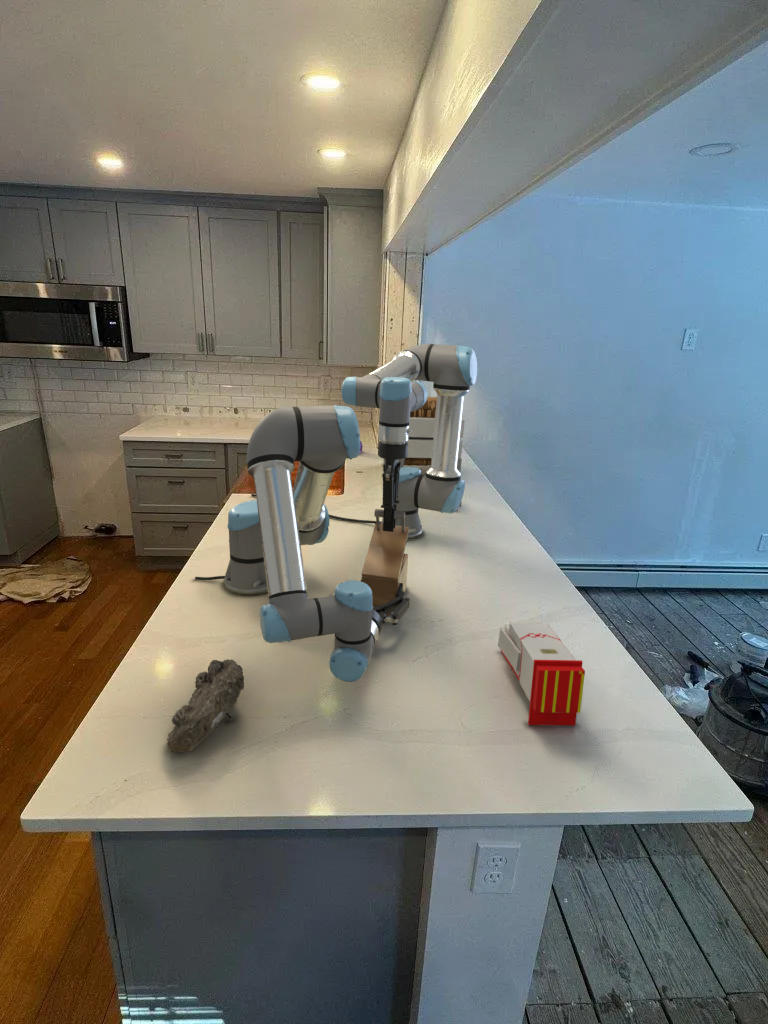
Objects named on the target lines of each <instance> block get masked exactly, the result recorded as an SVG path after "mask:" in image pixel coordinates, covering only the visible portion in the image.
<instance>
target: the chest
mask: <svg viewBox="0 0 768 1024" xmlns="http://www.w3.org/2000/svg"><path fill="white" fill-rule="evenodd" d="M408 562H409V553H404V556H403V560H402V565H401V570H400V574H399V579H398V581H397V580H389V579H381V578H373V577H365V576H362V575H361V579H362V582H363V583H365V584H367V585H368V586H369V587H370V588H371V590H372V605H373V606H375V607H377V606H379V605H381V604H386V603H387V602H389V601H391V600H393V599H394V598H396V593H397V590H398V588H399V585H400V583H403V592H405V593H406V590H407V580H408V565H409V564H408ZM389 615H391V613H390V614H388V615H387V616H389Z"/></svg>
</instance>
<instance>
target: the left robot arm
mask: <svg viewBox="0 0 768 1024" xmlns="http://www.w3.org/2000/svg"><path fill="white" fill-rule="evenodd" d="M360 441H361V433H360V427H359V422H358V418H357V415H356V413H355V411H354V410H353V408H352V407H350V406H349V405H337V404H334V405H308V406H307V405H305V406H289V405H288V406H287V405H286V406H281V407H277V408H275V409H272V410H271V411H269V412H268V413H267V414H265V416H263V417H262V418H261V419H260V420H259V422H258V423H257V425H256V426H255V428H254V429H253V432H252V433H251V436H250V438H249V442H248V445H247V449H246V450H247V451H246V466H247V467H246V468H247V474H248V475H249V476H250V477H252V478H253V481H254V490H255V494H256V497H255V499H251V500H247V501H243V502H240V503H238V504H235V505H234V506H233V507H231V508H230V510H229V512H228V514H227V530H228V545H229V562H228V564H227V568H226V572H225V574H224V575H217V576H216V575H215V576H195V577H194V580H195V581H214V580H224V588H225V589H226V590H227V591H228V592H230V593H233V594H236V595H240V596H241V595H242V596H256V595H257V596H258V595H263V594H266V593H267V596H268V603H266V604H263V605H261V606H260V609H259V622H260V631H261V634H262V638H263V640H264V641H265V642H266V643H268V644H276V643H284V642H287V643H291V641H296V640H297V641H298V640H303V639H310V638H315V637H321V636H329V635H334V644H333V645H334V646H333V647H334V648H333V651H332V652H331V654H330V659H329V663H328V666H329V670H330V673H331V674H332V675H333V676H334V678H336V679H337V680H339V681H341V682H344V683H354V682H357V681H359V680H360V679H362V678H363V676H364V674H365V673H366V670H367V669H368V668H369V662H370V661H371V657H372V654H373V652H374V648H375V646H376V644H377V641H378V639H379V636H380V633H381V630H382V628H383V626H384V625H385V624H386V623H391V625H392V626H395V627H396V626H398V623H399V622H398V621H399V620H401V618H402V617H403V616H404V615H405V614H406V612H407V611H408V610H409V609H410V604H411V603H410V602H411V598H410V597H406V591H405V592H403V583H400V585H399V588H398V590H397V593H396V598H394V599H393V600H391V601H389V602H387V603H386V604H381V605H379V606H377V607H375V606H373V605H372V590H371V588H370V587H369V586H368V585H367V584H365V583H363V582H362V578H361V580H345V581H343V582H340V583H338V584H337V585H336V586H335V589H334V591H333V592H334V594H333V595H325V596H318V597H310V598H309V595H308V587H307V581H306V573H305V567H304V560H303V552H302V546H313V545H316V544H321V543H323V542H324V541H325V540H327V537H328V536H329V535H328V534H329V531H330V529H329V527H330V517H329V515H330V514H329V511H328V508H327V506H326V505H325V501H326V498H327V495H328V492H329V489H330V487H331V484H332V480H333V477H334V475H335V473H336V472H338V471H339V470H341V469H342V468H343V467H344V465H345V463H346V460H347V459H349V460H352V459H356V458H358V457H359V455H360V454H359V452H360ZM295 462H298V467H297V471H296V475H295V479H294V483H293V481H292V473H293V472H294V470H295V469H296V468H295V467H296V466H295ZM390 613H391V615H389V616H387V615H388V614H390Z"/></svg>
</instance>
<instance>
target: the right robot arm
mask: <svg viewBox="0 0 768 1024" xmlns="http://www.w3.org/2000/svg"><path fill="white" fill-rule="evenodd" d="M476 355H477V354H476V352H475V350H474V349H473V348H472V347H470V346H464V345H455V344H454V345H452V344H438V343H437V344H436V343H435V344H434V343H421V344H416V345H413V346H411V347H408V348H405V349H403V350H401V351H399V352H397V353H396V354H395V355H394V356H393V357H392V360H390V361H388V362H387V363H385V364H382V365H381V366H379V367H378V368H375V369H374V370H373V371H371V372H369V373H368V374H366V375H364V376H362V377H358V376H347V377H346V378H345V379H344V380H343V382H342V385H341V393H340V394H341V399H342V401H343V403H344V404H345V405H346V406H354V407H360V408H371V409H379V413H378V414H379V418H378V419H379V420H378V430H377V431H378V434H377V439H378V440H379V441H378V443H377V456H378V457H379V458H381V459H383V460H384V459H385V460H386V462H385V465H384V464H383V465H382V471H383V472H382V475H381V477H382V504H381V505H380V509H383V510H384V516H383V517H382V519H381V521H380V520H379V524H383V531H388V532H393V531H394V528H395V526H402V523H401V519H394V512H395V511H401V512H405V519H404V523H405V527H409V533H408V537H407V541H410V540H415V539H418V538H420V537H421V536H422V535H423V525H422V524H421V518H420V515H419V509H420V510H427V511H433V512H438V513H442V514H443V513H445V514H454V513H456V512H457V511H458V509H459V508H460V507H459V506H460V503H461V504H462V502H463V501H462V500H463V497H464V493H465V489H466V481H465V480H463V479H461V475H462V473H460V472H459V471H458V470H457V460H458V450H459V440H460V439H461V438H460V431H461V421H462V419H463V410H464V402H465V401H464V400H465V395H467V394H468V393H469V392H470V388H471V387H472V386H474V385H475V384H476V382H477V378H478V360H477V356H476ZM421 381H423V382H431V383H433V384H432V389H433V390H434V391H435V393H436V397H437V403H436V414H435V426H434V437H433V449H432V460H431V465H430V466H429V468H427V469H426V470H425V474H424V473H423V474H422V470H421V468H419V467H416V466H404V467H403V468H401V462H399V460H401V459H405V458H406V457H407V456H408V443H407V441H408V435H409V434H408V433H411V430H410V429H408V428H409V421H410V412H413V411H415V410H418V409H420V408H421V407H422V406H423V405H424V404H425V403H426V401H427V397H429V396H428V395H429V394H428V390H427V387H426V386H425V385H424V383H422V382H421ZM251 497H253V498H254V497H255V498H256V493H251ZM461 501H462V502H461ZM329 519H335V520H338V521H344V522H352V523H360V524H361V523H362V524H374V525H375V523H376V520H369V519H368V520H365V519H356V518H348V517H341V516H337V515H333V514H329Z"/></svg>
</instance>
